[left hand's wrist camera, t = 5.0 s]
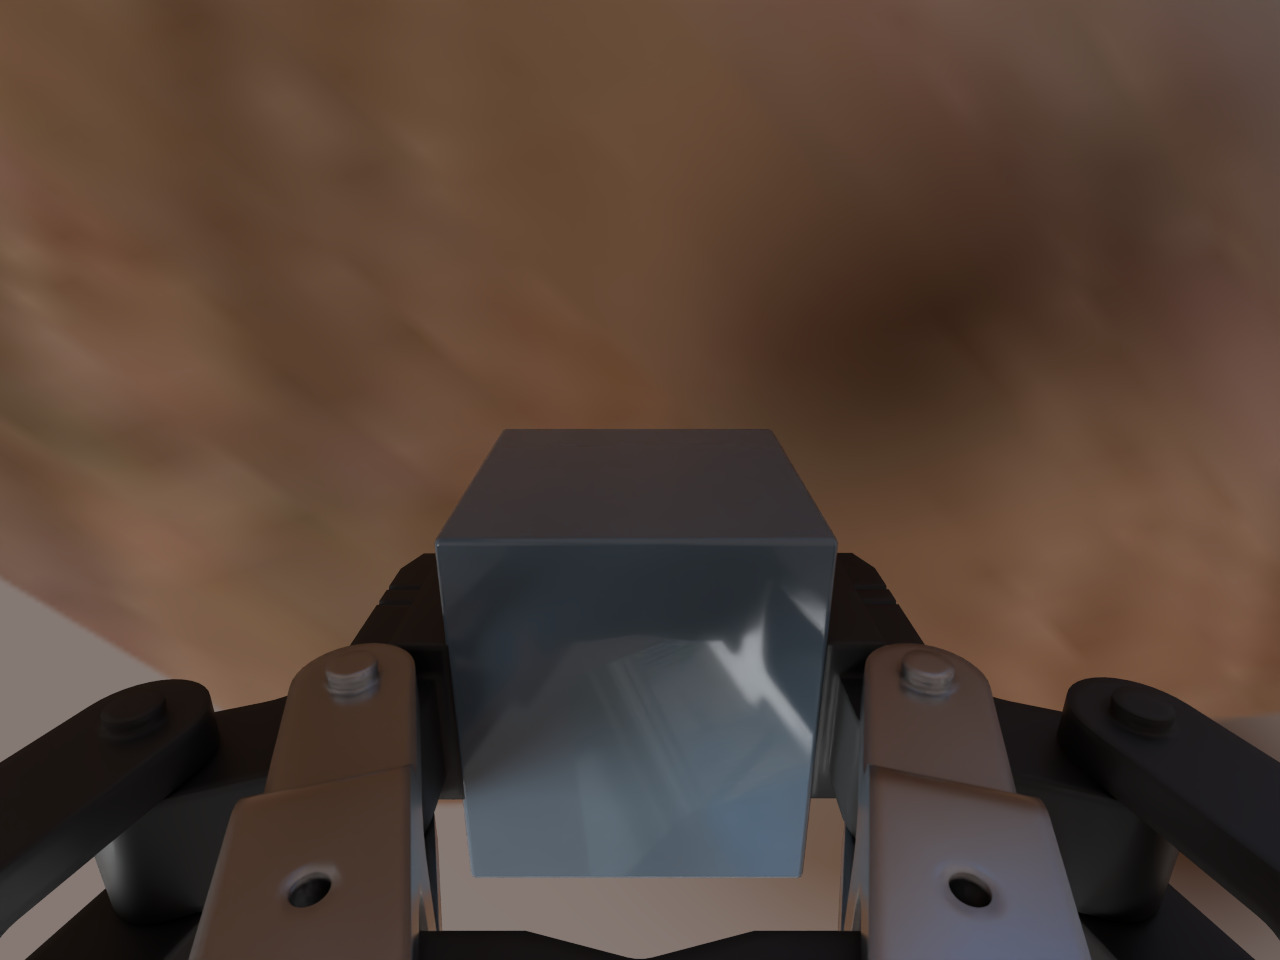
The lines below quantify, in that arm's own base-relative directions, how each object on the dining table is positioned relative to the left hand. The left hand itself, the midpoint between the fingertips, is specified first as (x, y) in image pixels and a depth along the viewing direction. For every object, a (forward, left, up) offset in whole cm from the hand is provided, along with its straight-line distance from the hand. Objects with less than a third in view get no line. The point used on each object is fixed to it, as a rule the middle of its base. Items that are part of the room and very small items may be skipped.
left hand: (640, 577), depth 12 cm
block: (0, 0, 0) cm, 0 cm away
